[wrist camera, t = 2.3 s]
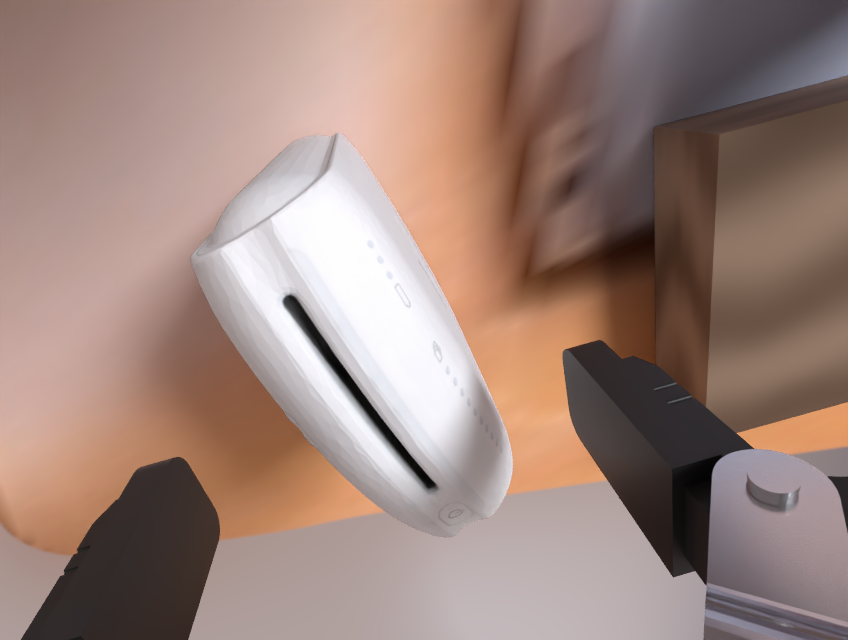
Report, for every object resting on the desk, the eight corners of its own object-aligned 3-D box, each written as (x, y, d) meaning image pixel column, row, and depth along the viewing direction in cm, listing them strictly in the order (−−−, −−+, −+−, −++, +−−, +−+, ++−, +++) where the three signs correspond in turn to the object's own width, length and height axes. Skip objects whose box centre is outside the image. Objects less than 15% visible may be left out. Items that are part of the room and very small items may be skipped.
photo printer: (462, 317, 23) (566, 533, 12) (384, 361, 23) (413, 608, 12) (342, 111, 18) (325, 139, 7) (248, 169, 19) (94, 282, 8)
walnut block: (653, 127, 20) (719, 134, 16) (970, 43, 20) (1102, 32, 17) (656, 394, 26) (704, 441, 23) (897, 327, 26) (983, 364, 23)
